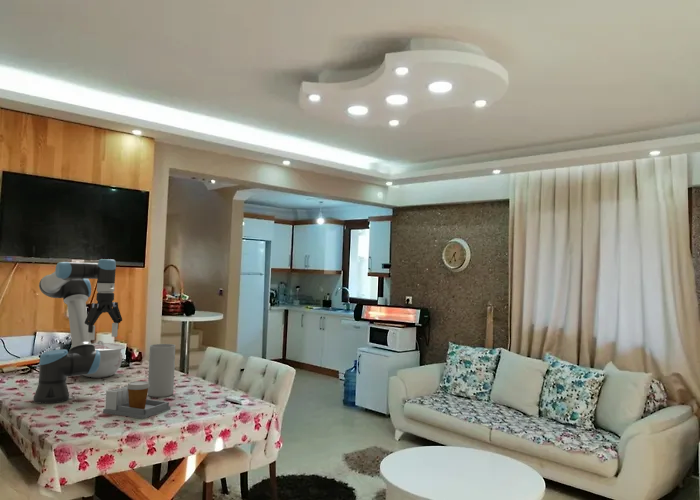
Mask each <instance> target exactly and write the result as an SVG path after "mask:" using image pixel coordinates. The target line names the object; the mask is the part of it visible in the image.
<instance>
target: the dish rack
mask: <svg viewBox="0 0 700 500" xmlns="http://www.w3.org/2000/svg"><path fill="white" fill-rule="evenodd" d="M127 386H128V384H126V385H125V386H121V387H116V389H115V388H111V390H109V389H108V390H105V406H104V408H103V410H102V413H104V414H111V415H116V416H121V415H122V417H129V418H135V419H140V418H141V420H143V419H146V417H147V418H149V416H150V417H152V416H155V415H157V414H161V413H163V412H166V411H169V410H171V405H169V404H170V402H169V401H162V400H156V399H148V398H147V399H146V405H145V409H139V408H132V407H129V396H128V388H127Z"/></svg>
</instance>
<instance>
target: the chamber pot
mask: <svg viewBox="0 0 700 500" xmlns="http://www.w3.org/2000/svg"><path fill="white" fill-rule="evenodd" d="M92 344H93V345H94V346H95V350H99V352H100V365H99V368H98V370H97V371H96V372H95V373H93V374H88V375H83V376H84V377H87V378H90V377H91V378H92V379H94V378H95V379H98V378H99V379H100V378H108V377H110V376H113V375H115V373H116V374H117V372H118V370H119V369H120V368H121V365H122V361H123V353H122V350H124V349H125V348H126V346H125V345H123V344H119V343H111V342H103V340H98V341H97V342H95V343H93V342H92Z"/></svg>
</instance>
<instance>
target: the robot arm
mask: <svg viewBox="0 0 700 500" xmlns="http://www.w3.org/2000/svg"><path fill="white" fill-rule="evenodd" d="M97 261H98V262H74V261H73V262H70V261H59V262H58V263H56V265H55V271H54V272H52V273H51V274H46V275H44V276H43V277H42V278H41V279H40V280H39V283H38V287H39V290H40V292H41V293H42V294H43V295H45V296H46V297H49V298H53V299H62V300H63V304H66V305H67V313H68V314H67V315H68V321H69V332H70V339H71V340H70V341H71V347H70V349H69V351H68V349H63V348H62V349H53V350H49V351H45V352H43V353H42V354H41V355H40V356H39V358H40V359H39V362H38V364H39V365H38V366H39V367H38V384H37V386H36V387H37V388H36V390H35V393H34V395H33V399H32V401H33V402H34V403H36V404H55V403H62V402H65V401H68V400H69V399H70V392H69V389H68V385H67V377H75V376H84V375H88V374H93V373H95V372H96V371H97V370H98V368H99V365H100V352H99V350H95V346H94V345H93V343H92V342H91V341H95V339H96V338H95V335H96V325H95V323H96V322H97V320H98V319H99V318H100V317H101V315H102V314H104V313H107V314H108V315H109V317H110V319H111V320H112V321H113V322H112V323H111V337H112V338H117V337H118V330H119V324H121V322H122V321H123V317H122V314H121V312H120V308H119V302H117V301H115V287H116V286H115V285H116V284H115V282H116V270H117V269H116V268H117V266H116V265H117V264H116V260H115V259H111V258H110V259H109V258H108V259H105V258H104V259H103V258H101V259H98V260H97ZM90 279H91V280H95V279H96V280H97V281H96V292H97V293H96V296H95V297H96V301H97V303H96V302H95V303H94V302H92V303H91V305H90V309H89V312H88V311H87V304H86V303H87V302H88V300H89V298H90V297H91V295H92V285H91V281H90Z"/></svg>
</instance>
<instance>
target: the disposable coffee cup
mask: <svg viewBox="0 0 700 500" xmlns="http://www.w3.org/2000/svg"><path fill="white" fill-rule="evenodd" d="M127 385H128V386H127V388H128V396H129V407H132V408H139V409H145V405H146V399H148V388H149V386H150V385H149V382H148V380H147V381H146V380H138V381H137V380H134V381H129V382H128V383H127Z"/></svg>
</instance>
